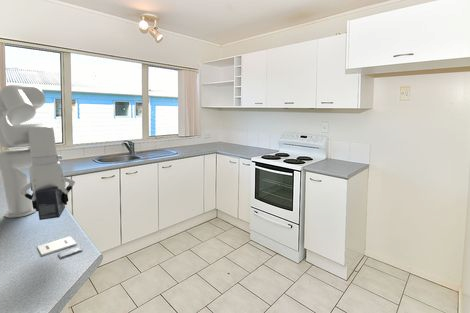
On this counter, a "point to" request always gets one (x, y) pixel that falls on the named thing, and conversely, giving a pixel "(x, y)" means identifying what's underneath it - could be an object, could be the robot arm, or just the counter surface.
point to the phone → (69, 252)
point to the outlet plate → (56, 245)
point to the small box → (49, 203)
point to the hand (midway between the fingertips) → (51, 206)
